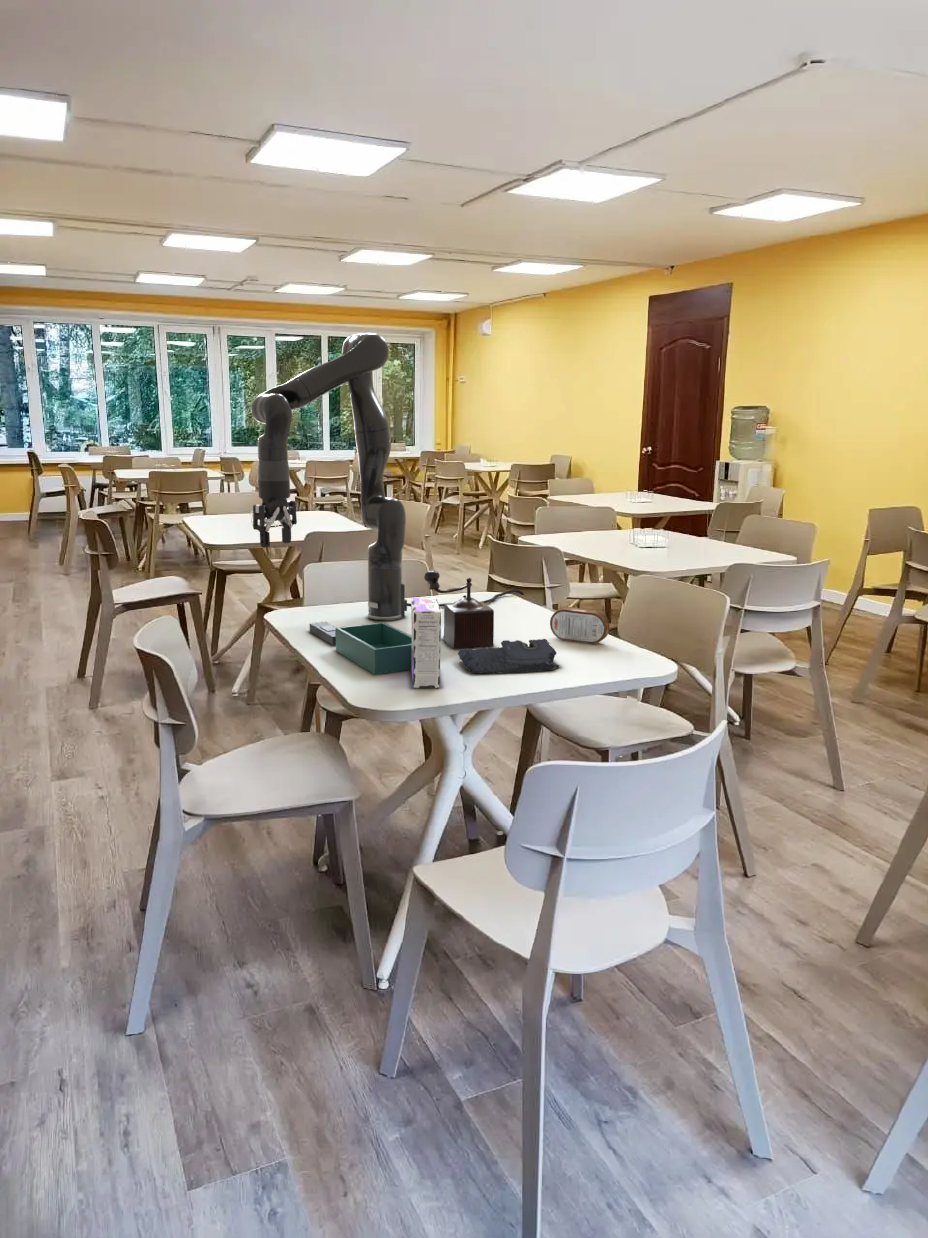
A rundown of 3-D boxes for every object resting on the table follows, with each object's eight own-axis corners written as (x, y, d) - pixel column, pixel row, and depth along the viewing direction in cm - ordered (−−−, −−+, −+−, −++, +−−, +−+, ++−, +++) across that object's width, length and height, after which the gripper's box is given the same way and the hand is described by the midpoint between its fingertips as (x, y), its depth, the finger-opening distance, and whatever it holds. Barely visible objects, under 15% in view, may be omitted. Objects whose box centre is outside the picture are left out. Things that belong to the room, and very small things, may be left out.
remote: (326, 629, 231) (325, 620, 231) (349, 643, 218) (349, 633, 217) (309, 631, 229) (309, 622, 229) (332, 645, 216) (332, 635, 215)
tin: (609, 643, 221) (611, 610, 219) (605, 646, 218) (607, 613, 216) (552, 636, 227) (553, 604, 225) (547, 639, 224) (549, 606, 222)
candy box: (410, 669, 196) (410, 596, 192) (437, 669, 196) (437, 596, 193) (412, 688, 183) (412, 610, 179) (440, 688, 183) (441, 610, 179)
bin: (384, 644, 217) (383, 622, 216) (426, 667, 198) (426, 643, 197) (335, 650, 211) (335, 627, 210) (374, 674, 192) (374, 649, 191)
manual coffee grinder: (481, 636, 226) (482, 566, 222) (494, 647, 216) (496, 574, 212) (422, 639, 222) (422, 568, 218) (432, 650, 212) (433, 576, 208)
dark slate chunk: (452, 657, 207) (452, 637, 205) (541, 652, 212) (542, 633, 211) (468, 675, 192) (469, 654, 191) (564, 670, 197) (565, 649, 196)
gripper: (268, 481, 207) (270, 549, 211) (303, 477, 220) (305, 542, 223) (242, 479, 210) (245, 547, 214) (279, 476, 223) (281, 540, 226)
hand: (276, 544), depth 219 cm, fingers open, 8 cm apart
